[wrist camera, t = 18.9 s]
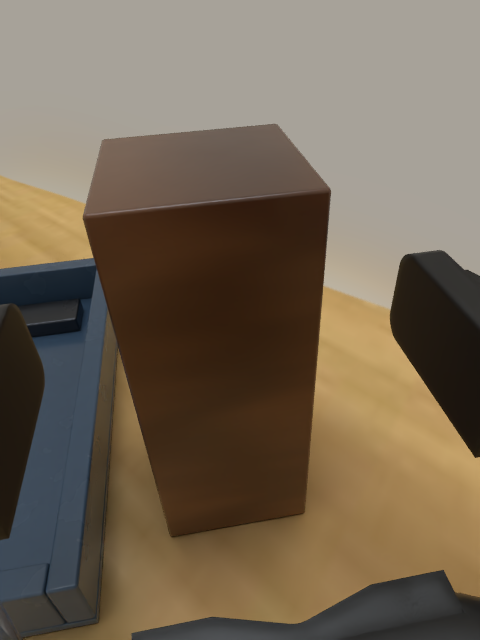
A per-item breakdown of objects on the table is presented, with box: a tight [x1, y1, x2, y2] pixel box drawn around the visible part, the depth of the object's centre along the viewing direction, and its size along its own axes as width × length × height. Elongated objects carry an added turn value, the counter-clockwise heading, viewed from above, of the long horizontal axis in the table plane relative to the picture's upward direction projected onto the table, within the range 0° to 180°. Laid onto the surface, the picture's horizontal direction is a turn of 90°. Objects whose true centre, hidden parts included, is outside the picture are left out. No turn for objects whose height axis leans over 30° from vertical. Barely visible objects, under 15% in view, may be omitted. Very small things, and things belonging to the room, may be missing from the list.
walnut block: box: [83, 124, 331, 536], centre depth 13 cm, size 4×4×11 cm
